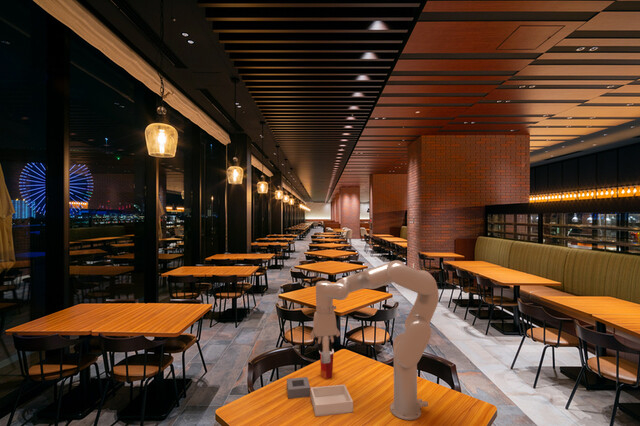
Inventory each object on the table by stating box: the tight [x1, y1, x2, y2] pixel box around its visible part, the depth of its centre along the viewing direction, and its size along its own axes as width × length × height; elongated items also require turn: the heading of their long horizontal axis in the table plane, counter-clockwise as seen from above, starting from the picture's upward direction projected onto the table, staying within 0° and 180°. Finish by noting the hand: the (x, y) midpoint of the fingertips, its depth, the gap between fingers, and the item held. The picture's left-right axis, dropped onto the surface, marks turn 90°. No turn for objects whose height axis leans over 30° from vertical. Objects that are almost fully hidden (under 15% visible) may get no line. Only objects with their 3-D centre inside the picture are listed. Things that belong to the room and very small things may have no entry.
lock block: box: [286, 376, 311, 400], centre depth 147 cm, size 10×10×4 cm
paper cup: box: [318, 348, 335, 380], centre depth 162 cm, size 8×8×14 cm
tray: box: [310, 384, 354, 417], centre depth 137 cm, size 16×14×4 cm
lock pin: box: [320, 336, 330, 364], centre depth 139 cm, size 4×4×12 cm
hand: (325, 350), depth 139 cm, fingers closed on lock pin, 4 cm apart
